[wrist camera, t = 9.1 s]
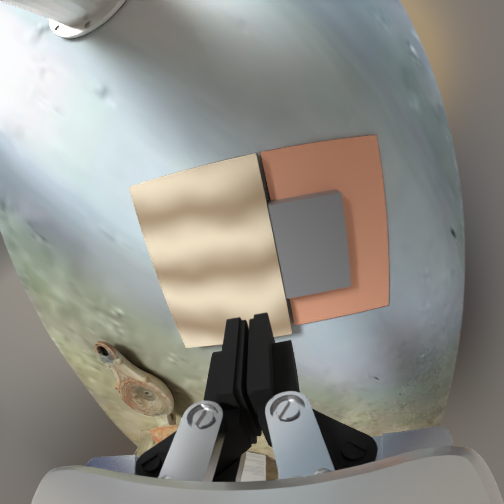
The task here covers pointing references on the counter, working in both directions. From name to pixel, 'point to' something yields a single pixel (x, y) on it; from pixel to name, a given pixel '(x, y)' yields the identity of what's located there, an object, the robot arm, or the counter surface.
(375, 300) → the mat
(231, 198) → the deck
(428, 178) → the counter surface
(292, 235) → the tile
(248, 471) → the supplement box
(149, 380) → the oil lamp
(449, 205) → the counter surface
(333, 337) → the counter surface
